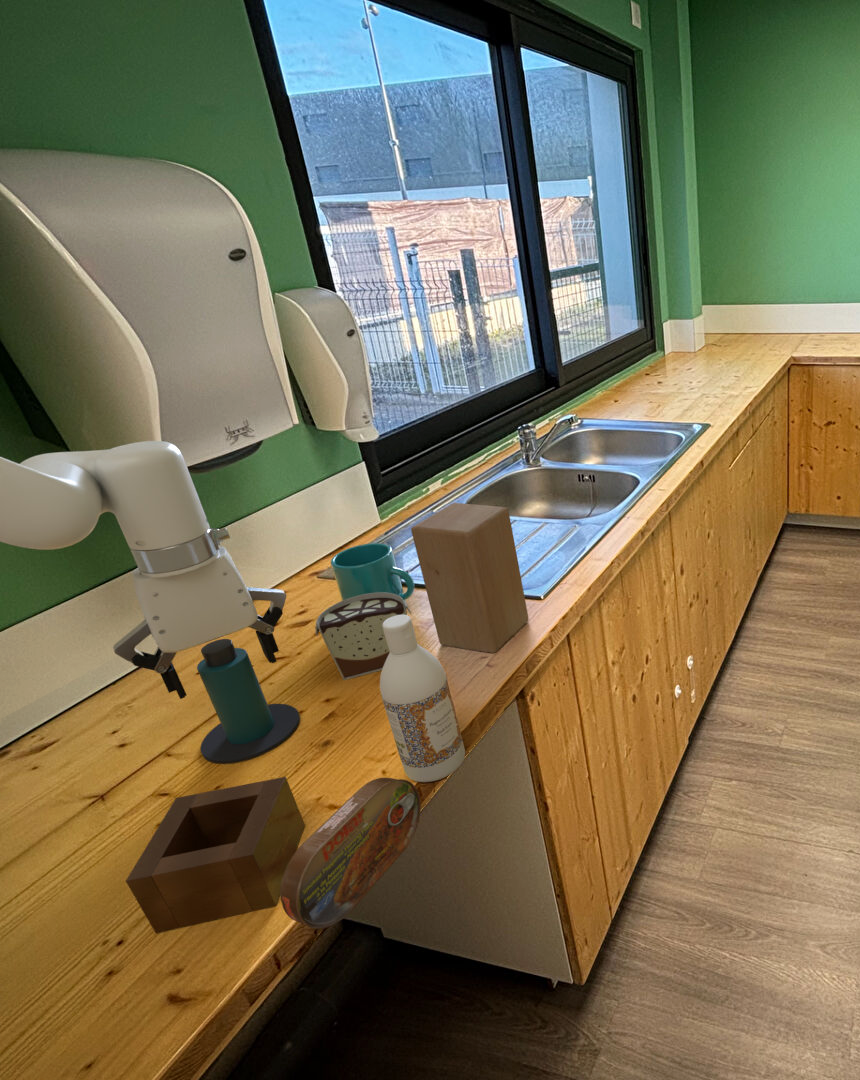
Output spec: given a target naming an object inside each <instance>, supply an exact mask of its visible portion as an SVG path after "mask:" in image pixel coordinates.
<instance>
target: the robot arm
mask: <svg viewBox="0 0 860 1080" xmlns="http://www.w3.org/2000/svg"><path fill="white" fill-rule="evenodd" d="M185 460H186V459H185V458H184V456H183V454H182V452H181V450H180V449H179V448H178V447H177V446H176V445H175V444H173V443H171V442H169V441H163V440H146V441H138V442H137V441H136V442H132V443H126V444H123V445H118V446H115V447H111V448H109V449H98V450H97V449H96V450H83V451H82V450H79V451H58V452H47V453H41V454H37V455H34V456H31V457H29V458H27V459H24V460H23V461H22V462H20V463H18V462H15V461H12V460H10V459H8V458H4V457H2V456H0V543H4V544H7V545H10V546H15V547H19V548H24V549H33V550H39V551H40V550H41V551H42V550H44V551H45V550H46V551H47V550H48V551H49V550H59V549H63V548H67V547H71V546H74V545H76V544H78V543H80V542H81V541H83V540H84V539H86V538H87V537H88V536H89V535H90V534H91V533H92V532H93V531H94V529H95V528H96V526H97V524H98V522H99V519H100V516H101V515H102V514H104V513H107V512H108V513H112V514H113V515H114V516H115V519H116V521H117V523H118V525H119V528H120V530H121V532H122V534H123V536H124V538H125V542H126V543H127V546H128V548H129V550H130V552H131V555H132V557H133V559H134V562H135V564H136V566H137V568H135V569H134V570H132V571H131V576H132V583H133V588H134V593H135V595H136V598H137V602H138V604H139V605H138V606H139V607H140V609H141V612H142V615H143V618H144V619H143V621H141V622H140V623H139V624H137V626H135V627H134V628H133V629H131V630H130V631H129V632H128V633H126V635H124V636H123V637H122V638H120V639H119V640H118V641H117V642H116V643H114V644H113V646H112V648H113V652H114V654H115V655H117V656H118V657H121V658H122V659H123V660H125V661H127V662H129V663H131V664H133V666H135V667H139V668H142V669H146V670H150V671H154V672H155V673H157V674H159V675H160V676H161V678H162V681H163V683H164V685H165V687H166V690H167V692H168V693H169V694H171V693H173V692H176V693H177V696H178V697H179V699H180V700H183V699H184V698H186V696H187V692H186V691H185V688H184V685H183V683H182V681H181V679H180V677H179V674H178V672H177V669H176V668H175V666H174V663H173V661H174V658H175V657H176V654H177V653H178V652H182V651H186V650H188V649H192V648H194V647H197V646H201V645H203V644H206V643H210V642H213V641H216V640H218V639H221V638H224V637H225V636H229V635H231V634H235V633H237V632H239V631H242V630H245V629H247V628H250V629H253V630H255V631H254V632H255V634H256V637H257V639H258V643H259V644H260V648H261V650H262V652H263V655H264V657H265V658H266V660H267V661H268V663H269V664H275V663H277V661H278V660H277V658H276V656H275V653H278V652H280V650H279V647H278V644H277V642H276V639H275V636H274V634H273V633H274V632H275V627H276V625H277V624H278V622H279V620H280V619H281V618H282V616H283V614H284V613H283V610H284V607H285V603H286V600H287V594H286V593H285V591H284V590H283V589H277V588H266V587H265V588H263V587H249V586H247V585H246V583H245V582H246V581H244V578H243V577H242V574H241V572H240V570H239V569H238V566H236V563H235V562H234V559H233V558H232V556H231V554H230V553H229V551H228V550H227V549H226V547H224V546H222V545H221V543H222V542H224V541H226V540H229V539H230V538H231V536H230V533H229V531H228V529H227V528H226V527H222V528H214V527H213V526H210V523H209V521H208V518H207V516H206V513H205V511H204V507H203V505H202V502H201V500H200V497H199V495H198V492H197V489H196V487H195V484H194V482H193V479H192V476H191V474H190V471H189V468H188V466H187V463H186V461H185ZM254 601H262V602H263V601H265V602H270V603H269V604H270V605H269V607H268V608H267V609H266V611H265V613H264V614H263V616H262V615H260V614H258V611H257V609H256V606H255V603H254ZM150 635H151V637H152V638H153V640H154V642H155V644H156V646H157V647H156V648H155V651H154V653H153V654H152V653H148V652H144V651H141V650H139V649H137V648H136V646H138V645H140V643H141V642H143V641H144V640H145V639H146V638H147V637H149V636H150Z"/></svg>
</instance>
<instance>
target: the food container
mask: <svg viewBox="0 0 860 1080" xmlns="http://www.w3.org/2000/svg"><path fill="white" fill-rule="evenodd" d="M405 607H406V608H405ZM407 612H408V613H409V614H410V615H411V614H412V611H411V609H410V607H409V606H408V603H407V601H406V602H405V601H404V600H403V599H402V598H401V597H400V596H398V595H396V594H392V593H383V592H379V593H368V594H363V595H358V596H355V597H351V598H348V599H346V600H343V601H342V600H341V601H338V602H336V603H334V604H332V605H331V606H328V607H327V608H326V609H325V610H324V611H322V612H321V613H320V614H319V615H318V617H317V619H316V621H315V627H314V628H315V629H314V630H315V636H316V637H318V635H319V633H320V635H321V637H322V639H323V641H324V644H325V645H326V647H327V650H328V651H329V654H330V656H331V658H332V660H333V662H334V664H335V666H336V668H337V671H338V672H339V675H340V676H341V679H342V680H343V681H347V680H350V679H354V678H358V677H361V676H365V675H369V674H373V673H376V672H380V671H382V669H383V666H384V664H385V662H386V659H387V657H388V655H389V653H390V651H389V648H388V645H387V641H386V638H385V634H384V631H383V627H382V624H383V622H384V621H385V620H386V619H388V618H390V617H393V616H396V615H407Z"/></svg>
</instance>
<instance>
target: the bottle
mask: <svg viewBox="0 0 860 1080" xmlns="http://www.w3.org/2000/svg"><path fill="white" fill-rule="evenodd" d="M200 653H201V655H202V657H203V659H201V661H199V663H198V664H197V666H196V669H197V672H198V675H199V677H200V679H201V681H202V683H203V685H204V688H205V691H206V693H207V695H208V697H209V699H210V702H211V705H212V706H213V708H214V711H215V714H216V715H217V718H218V721H219V722H220V723H221V725H222V727H223V730H224V732H225V734H226V736H227V739H228V741H229V742H230V743H233V744H245V743H249V742H252V741H255V740H257V739H259V738H261V737H263V736H264V735H266V734H267V733H268V732H270V731H271V729H272V728H273V726H274V720H273V717H272V715H271V712H270V710H269V707H268V702H267V700H266V697H265V693H264V692H263V690H262V687H261V684H260V682H259V679H258V677H257V675H256V672H255V669H254V666H253V664H252V662H251V659H250V657H249V656H250V655H249V654H248V651H247V650H246V649H244V648H241V647H235V646H234V642H233V641H232V639H229V638H219V639H215V640H212V641H210V642H208V643H207V644H205V645H204V646H202V648H201V649H200ZM220 723H219V724H220Z"/></svg>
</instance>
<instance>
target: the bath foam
mask: <svg viewBox="0 0 860 1080" xmlns="http://www.w3.org/2000/svg"><path fill="white" fill-rule="evenodd" d="M382 627H383V631H384V634H385V638H386V641H387V645H388V648H389V651H390V653H389V655H388V657H387V659H386V662H385V664H384V666H383V669H382V670H381V673H380V677H379V678H380V679H379V689H380V690H379V691H380V697H381V699H382V703H383V706H384V710H385V713H386V716H387V720H388V723H389V726H390V730H391V733H392V735H393V739H394V742H395V745H396V749H397V752H398V755H399V759H400V761H401V764H402V768H403V771H404V773H405V775H406V776H407V778H408V779H410V780H411V781H414V782H416V783H432V782H436V781H439V780H442V779H445V778H446V777H448V776H450V775H452V774H453V773H454V772H456V771H457V770H458V769H459V768H460V766H461V765H462V764H463V763H464V761H465V757H466V748H465V744H464V741H463V736H462V732H461V728H460V724H459V719H458V717H457V713H456V709H455V705H454V701H453V697H452V693H451V688H450V685H449V680H448V677H447V674H446V672H445V669H444V667H443V665H442V663H441V662H440V660H439V659H438V658H437V657H436V656H435V655H434V654H433V653H431V652H430V651H429V650H427V649H426V648H424V647H423V646H421V645H420V644H418V639H417V636H416V635H417V634H416V632H415V628H414V624H413V621H412V618H411V616H409V615H408V614H406V615H396V616H393V617H390V618H388V619H386V620H385V621H384V622H383V624H382Z"/></svg>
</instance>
